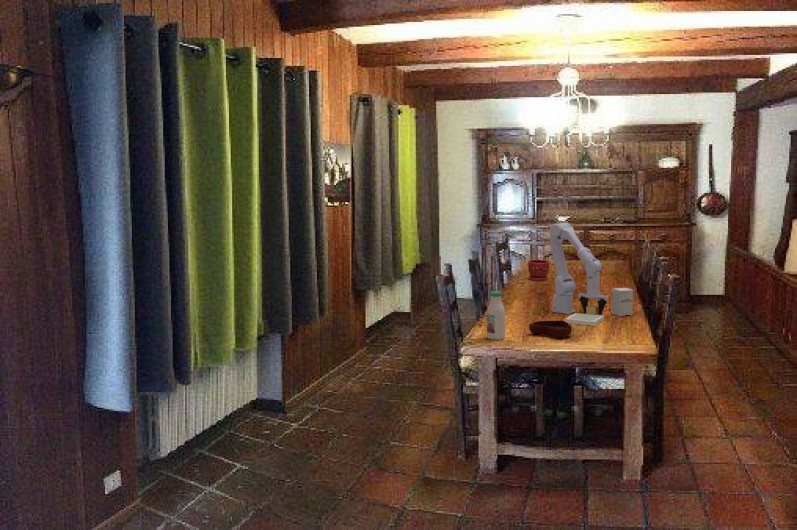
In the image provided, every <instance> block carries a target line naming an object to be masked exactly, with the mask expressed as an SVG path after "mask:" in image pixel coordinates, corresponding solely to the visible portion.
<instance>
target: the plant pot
mask: <svg viewBox="0 0 797 530" xmlns="http://www.w3.org/2000/svg"><path fill="white" fill-rule="evenodd" d="M527 263H528V264H527V266H528V268H527V270H528V274H529V276H528V279H530V280H531V281H536V282H537V281H538V282H542V281H545V280H547V279H548V276H547V275H548V274H549V269H550V261H549V260H547V259H545V260H544V259H530V260H528V262H527Z"/></svg>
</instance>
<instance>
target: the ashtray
mask: <svg viewBox="0 0 797 530" xmlns="http://www.w3.org/2000/svg"><path fill="white" fill-rule="evenodd" d="M528 328H529V331H530V333H532V335H533V334H534V336H540V335H541V336H545V337H549V336H551V337H554V338H555V339H557V338H559V339H558V340H562V338H563V339H564V338H567V337H568V336H570V335H571V334H572V332H573V331H572V329H573V328H572V324H568V323H567V322H565V320H536V321H534V322H531V323H529V324H528Z"/></svg>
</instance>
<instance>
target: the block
mask: <svg viewBox="0 0 797 530" xmlns="http://www.w3.org/2000/svg"><path fill="white" fill-rule="evenodd" d="M585 314H589V315H599V306H598V305H597V304H596V305H593V304H590V305H589V304H588V306H586V313H585Z"/></svg>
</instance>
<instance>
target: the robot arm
mask: <svg viewBox="0 0 797 530" xmlns="http://www.w3.org/2000/svg"><path fill="white" fill-rule="evenodd" d="M564 240H568V241H569V242H570V244H571V245H572V246H573V248H575V250H576V251H577V256H578V258H579V259H580V261H581V262H582V264H583V265H584V271H586V276H587V277H586V280H587V282H586V283H587V284H586V293H583V292H580V293H578V298H579V302H580V305H581V306H582V309H583V314H586V306H589V300H590V299H593V300H597V306H599V315H600V316H603V312H604V308H605V307H606V304H607V302H608V301H609V296H608V295H604V294H601V293H600V292H601V291H600V289H601V287H600V284H601V279H600V278H601V275H600V274H601V271H602V270H603V264H602V262H601V260H599V259H597V258H596V257H595V256H594V255H593V254H592V252H591V250H590V248H588V247H585V246H584V245H583V244H582V242H581V240H580V239H579V237H578V236H577V234H576V232H575V230H574V227H573V226H572V224H571V223H569V222H568V221H567V222H563V223H562V222H560V223H554V224H552V225H551V227H550V228H549V245H550V250H551V254H552V259H553V263H554V267H555V268H554V269H555V271H556V278H555V279H554V291H555V292H556V293H554V294H553V296H552V304H551V305H552V308H551V309H552V310H551V312H553V313H559V314H560V313H561V314H567V315H569V314H572V313H576V312H577V310H575V309H573V307H574V306H573V305H574V301H573V300H574V296H573V295H574V292H575V291H576V289H577V284H576V282H575V281H574V279H573V276H572V275H571V274H570V273H569V269H568V266H567V261H566V257H565V252H564V248H563V241H564Z"/></svg>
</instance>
